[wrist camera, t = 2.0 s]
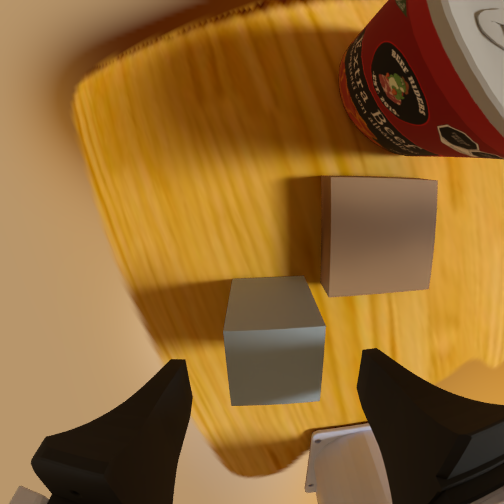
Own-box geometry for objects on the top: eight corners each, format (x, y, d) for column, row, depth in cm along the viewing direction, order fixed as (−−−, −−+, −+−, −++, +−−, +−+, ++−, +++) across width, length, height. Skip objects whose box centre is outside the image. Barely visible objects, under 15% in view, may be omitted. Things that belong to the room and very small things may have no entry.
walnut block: (409, 274, 18) (428, 289, 16) (319, 280, 18) (328, 297, 16) (415, 177, 17) (437, 180, 14) (319, 175, 17) (330, 176, 14)
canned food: (310, 53, 15) (378, -70, 4) (418, 24, 14) (528, -48, 3) (369, 177, 16) (512, 204, 6) (469, 134, 15) (608, 134, 5)
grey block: (302, 336, 19) (319, 400, 13) (237, 339, 19) (231, 405, 13) (303, 275, 18) (325, 326, 12) (232, 278, 18) (223, 331, 12)
